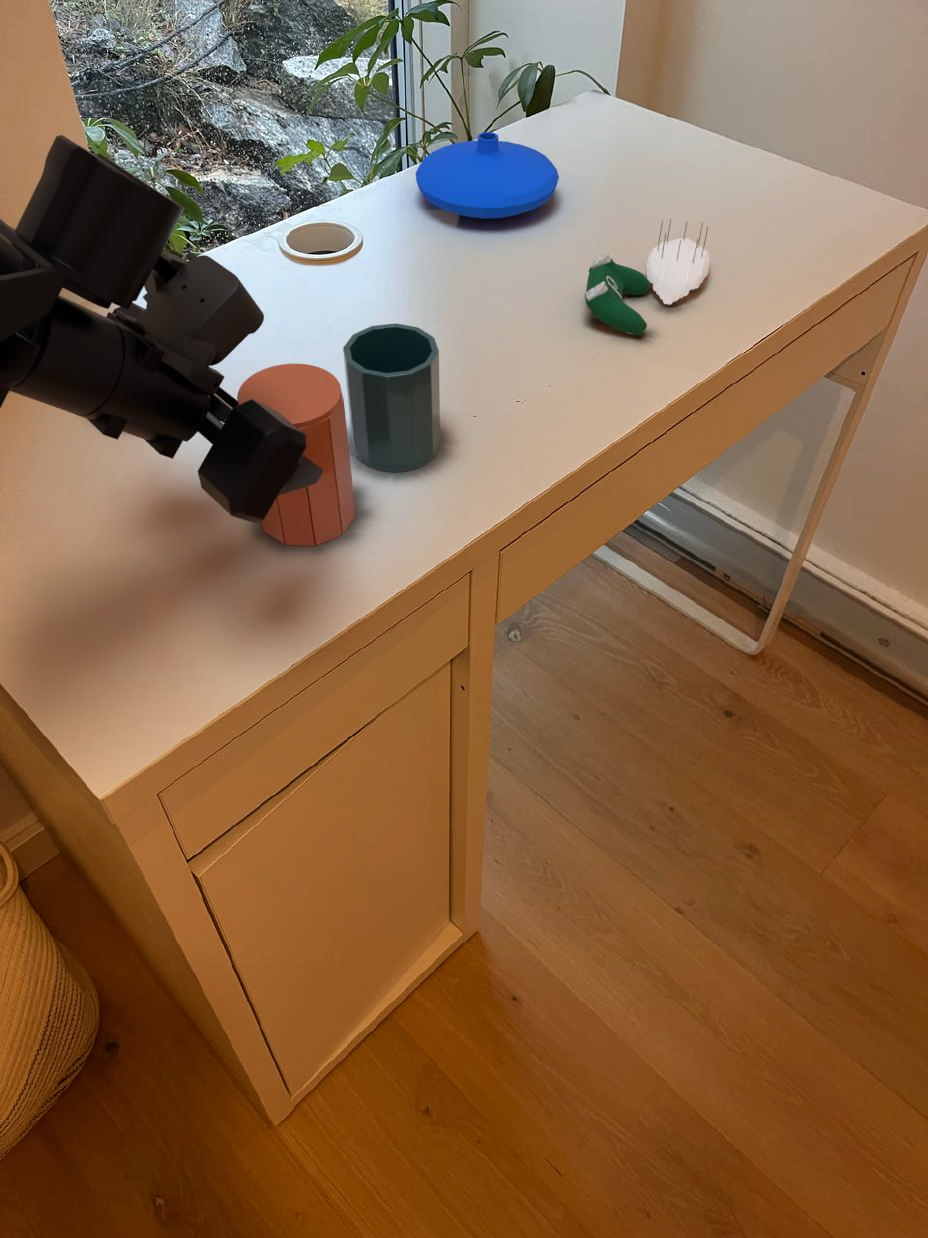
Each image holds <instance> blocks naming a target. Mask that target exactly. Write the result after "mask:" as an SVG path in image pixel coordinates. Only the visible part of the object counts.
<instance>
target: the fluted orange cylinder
mask: <svg viewBox="0 0 928 1238" xmlns="http://www.w3.org/2000/svg"><path fill="white" fill-rule="evenodd" d="M251 399H253V400H256V401H258V402H260V403H262V404H264V405H266V406H268V407H269V408H271V409H273V410H276V411H277V412H278V413H279V414H281V415H282V416H283V417H285V418H286V419H287V420H288V421H290V422H291V423H292V424H293V425H295V426H296V427H297V428H298V429H300V430H301V431H302V432H303V433H305V434H306V446H307V447H306V449H305V451H304V452H303V455H304V456H305V457H307V458H308V459H309V460H311V461H312V462H313V463H314V464H316V465H317V466H318V467H320V468H321V469H322V470H323V473H322V475H321V476H320V478H319V480H318V481H317V483H316V484H314V485H310V486H307V487H304V488H301V489H298V490H294V491H291V492H288V493H285V494H282V495H279V496H277V498H276V500H275V502H274V503H273V505H272V507H271V508H270V510H269V512H268V513H267V515H266V517H265V519H264V520H261V521H260V522H261V525H262V530H263V531H264V533H265V534H267V535H268V536H271V537H272V538H273V539H275V540H277V541H278V542H280V543H282V544H283V545H286V546H302V547H303V546H305V547H314V546H319V545H322V544H324V543H326V542H329V541H331V540H334V539H335V538H338V537H341V536H342V535H343V534H345V532H346V531H347V529H348V528H349V527H350V525H351V524H352V522H353V520H354V519H355V517H356V506H355V495H354V487H353V478H352V467H351V466H352V465H351V458H350V457H351V455H350V448H349V446H350V445H349V439H348V428H347V419H346V409H345V400H344V396H343V393H342V386H341V383H340V381H339V380H338V378H337V377H336V376H335V375H334V374H333V373H331V372H330V371H328V370H326V369H324V368H322V367H320V366H316V365H312V364H307V363H283V364H277V365H272V366H268V367H266V368H263V369H261V370H259V371H256V372H255V373H253V374H252V375H250V376H249V377H247V379H245V380H244V381H243V383H242V384H241V385H240V386H239V389H238V391H237V395H236V400H237V401H238V405H240V404H242V403H244V402H247V401H249V400H251Z"/></svg>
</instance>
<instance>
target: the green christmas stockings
mask: <svg viewBox="0 0 928 1238" xmlns="http://www.w3.org/2000/svg"><path fill="white" fill-rule="evenodd" d="M650 285H651V283H650V281H648V279H647V276H646V275H645V274H644V273H643V272H641V271H639V270H636V269H634V268H631V267H630V266H629V267H628V266H625V265H622V264H618V263H616V262H615V261H614V259H612V258H611V256H610V253H609V252H605V253H604V254H602V255H600V256H599V257H597V258H595V259H594V261H593V262H592V263H591V265H590V267H589V270H588V277H587V282H586V293H585V294H584V297H585V298H584V301H585V303H586V305H587V308H588V309H589V310H590V313H591V314H592V316H593V317H594V318H597V319H598V320H599V321H601V322H602V323H604V324H606V325H607V326H609V327H611V328H613V329H614V330H617V331H619V332H622V333H625V334H628V335H633V336H637V337H639V336H640V337H641V336H642V335H643V334H644V332H645V330H646V329H647V328H648V324H647V322H646V321H645V319H644V318H643V317H642V316H641V314H640V313H639V312H638V311H636V309H633V308H632V307H630V306H629V305H627V304H626V303H625V302H623V294H624V295H625V294H626V295H631V296H642V295H645V294H646V293H647V292H648V291H649V289H650Z"/></svg>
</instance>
